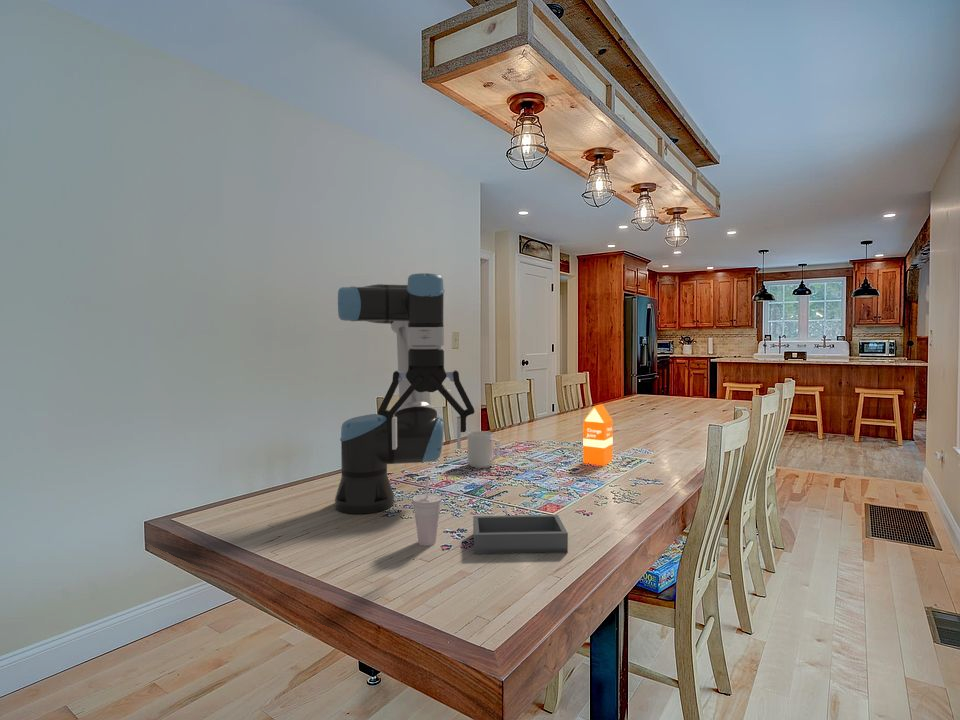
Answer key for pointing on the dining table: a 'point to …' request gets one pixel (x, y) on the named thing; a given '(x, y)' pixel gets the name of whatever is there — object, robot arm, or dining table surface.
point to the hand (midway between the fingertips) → (426, 448)
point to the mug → (481, 449)
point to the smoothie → (427, 516)
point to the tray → (519, 534)
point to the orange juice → (597, 436)
